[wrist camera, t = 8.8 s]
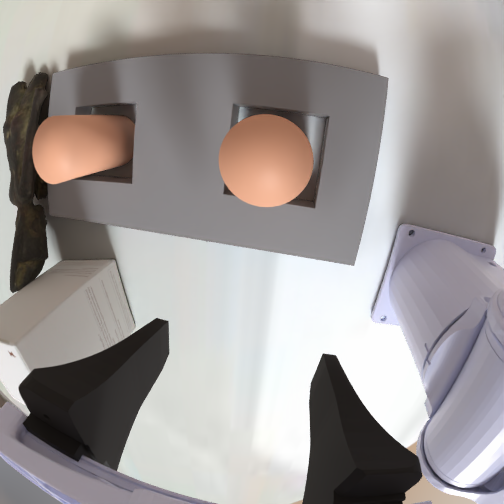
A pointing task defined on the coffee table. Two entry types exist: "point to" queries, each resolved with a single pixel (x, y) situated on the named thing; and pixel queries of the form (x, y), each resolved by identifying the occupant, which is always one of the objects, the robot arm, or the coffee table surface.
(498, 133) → the coffee table surface
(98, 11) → the coffee table surface
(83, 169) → the pin
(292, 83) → the pegboard
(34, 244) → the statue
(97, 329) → the supplement box
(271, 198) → the pin
